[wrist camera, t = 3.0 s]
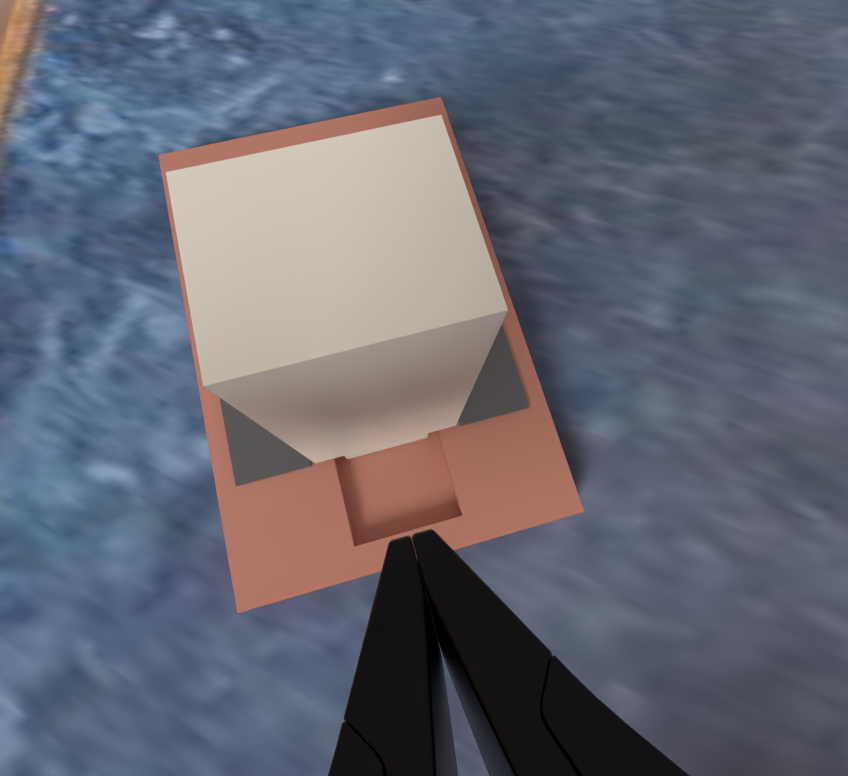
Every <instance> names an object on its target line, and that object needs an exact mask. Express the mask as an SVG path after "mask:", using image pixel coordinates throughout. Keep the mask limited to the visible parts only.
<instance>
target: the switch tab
mask: <svg viewBox="0 0 848 776" xmlns="http://www.w3.org/2000/svg"><path fill="white" fill-rule="evenodd" d="M166 177H167V182H168V188H169V194H170V199H171V205H172V211H173V217H174V222H175V228H176V234H177V239H178V245H179V251H180V257H181V262H182V268H183V274H184V279H185V285H186V291H187V297H188V302H189V308H190V314H191V319H192V325H193V331H194V337H195V342H196V348H197V354H198V359H199V365H200V371H201V377H202V382H203V386H204V387H205V388H207V389H208V390H209V391H211V392H212V393H214V394H215V395H217V396H218V397H220V398H221V399H223V400H224V401H225V402H227V403H228V404H230V405H231V406H233V407H234V408H236V409H237V410H238V411H240V412H241V413H243V414H244V415H246V416H247V417H249V418H250V419H252V420H253V421H254V422H256V423H257V424H259V425H260V426H262V427H263V428H265V429H266V430H267V431H269V432H270V433H272V434H273V435H275V436H276V437H278V438H279V439H281V440H282V441H283V442H285V443H286V444H288V445H289V446H291V447H292V448H294V449H295V450H296V451H298V452H299V453H301V454H302V455H304V456H305V457H307V458H308V459H310V460H311V461H312V462H314V463H319V462H323V461H326V460H330V459H334V458H337V457H341V456H345V457H346V459H351V458H355V457H358V456H362V455H366V454H369V453H373V452H377V451H381V450H384V449H388V448H392V447H395V446H399V445H403V444H406V443H410V442H414V441H418V440H421V439H425V438H427V437H428V433H430V432H434V431H438V430H442V429H445V428H449V427H453V426H456V424H457V422H458V419H459V417H460V415H461V413H462V411H463V408H464V406H465V404H466V402H467V400H468V397H469V395H470V393H471V391H472V389H473V386H474V384H475V382H476V380H477V378H478V375H479V373H480V371H481V369H482V367H483V364H484V362H485V360H486V358H487V356H488V353H489V351H490V349H491V347H492V345H493V342H494V340H495V338H496V336H497V334H498V331H499V329H500V327H501V325H502V323H503V320H504V318H505V316H506V314H507V312H508V308H507V305H506V302H505V300H504V297H503V294H502V291H501V288H500V285H499V282H498V279H497V276H496V273H495V270H494V267H493V264H492V261H491V259H490V256H489V253H488V250H487V247H486V244H485V241H484V238H483V235H482V232H481V229H480V226H479V223H478V220H477V218H476V215H475V212H474V209H473V206H472V203H471V200H470V197H469V194H468V191H467V188H466V185H465V182H464V179H463V177H462V174H461V171H460V168H459V165H458V162H457V159H456V156H455V153H454V150H453V147H452V144H451V141H450V139H449V136H448V133H447V130H446V127H445V124H444V121H443V118H442V115H437V116H433V117H428V118H423V119H418V120H413V121H409V122H404V123H399V124H394V125H389V126H385V127H380V128H375V129H370V130H366V131H361V132H356V133H351V134H346V135H342V136H337V137H332V138H327V139H322V140H318V141H313V142H308V143H303V144H299V145H294V146H289V147H284V148H279V149H275V150H270V151H265V152H260V153H255V154H251V155H246V156H241V157H236V158H232V159H227V160H222V161H217V162H212V163H208V164H203V165H198V166H193V167H188V168H184V169H179V170H174V171H169V172H166Z"/></svg>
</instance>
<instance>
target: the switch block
mask: <svg viewBox="0 0 848 776" xmlns="http://www.w3.org/2000/svg"><path fill="white" fill-rule="evenodd" d="M437 115H442V118H443V121H444V124H445V127H446V130H447V133H448V136H449V139H450V141H451V144H452V147H453V150H454V153H455V156H456V159H457V162H458V165H459V168H460V171H461V174H462V177H463V179H464V182H465V185H466V188H467V191H468V194H469V197H470V200H471V203H472V206H473V209H474V212H475V215H476V218H477V220H478V223H479V226H480V229H481V232H482V235H483V238H484V241H485V244H486V247H487V250H488V253H489V256H490V259H491V261H492V264H493V267H494V270H495V273H496V276H497V279H498V282H499V285H500V288H501V291H502V294H503V297H504V300H505V302H506V305H507V308H508V312H507V314H506V316H505V318H504V320H503V323H502V325H501V327H500V329H499V331H498V334H497V336H496V338H495V340H494V342H493V345H492V347H491V349H490V351H489V353H488V356H487V358H486V360H485V362H484V364H483V367H482V369H481V371H480V373H479V375H478V378H477V380H476V382H475V384H474V386H473V389H472V391H471V393H470V395H469V397H468V400H467V402H466V404H465V406H464V408H463V411H462V413H461V415H460V417H459V419H458V422H457V424H456V426H453V427H449V428H445V429H442V430H438V431H434V432H430V433H428V437H427V438H425V439H421V440H418V441H414V442H410V443H406V444H403V445H399V446H395V447H392V448H388V449H384V450H381V451H377V452H373V453H369V454H366V455H362V456H358V457H355V458H351V459H346V457H345V456H341V457H337V458H334V459H330V460H326V461H323V462H319V463H314V462H312V461H311V460H310V459H308V458H307V457H305V456H304V455H302V454H301V453H299V452H298V451H296V450H295V449H294V448H292V447H291V446H289V445H288V444H286V443H285V442H283V441H282V440H281V439H279V438H278V437H276V436H275V435H273V434H272V433H270V432H269V431H267V430H266V429H265V428H263V427H262V426H260V425H259V424H257V423H256V422H254V421H253V420H252V419H250V418H249V417H247V416H246V415H244V414H243V413H241V412H240V411H238V410H237V409H236V408H234V407H233V406H231V405H230V404H228V403H227V402H225V401H224V400H223V399H221V398H220V397H218V396H217V395H215V394H214V393H212V392H211V391H209V390H208V389H207V388H205V387H204V386H203V382H202V377H201V371H200V365H199V359H198V354H197V348H196V342H195V337H194V331H193V325H192V319H191V314H190V308H189V302H188V297H187V291H186V285H185V279H184V274H183V268H182V262H181V257H180V251H179V245H178V239H177V234H176V228H175V222H174V217H173V211H172V205H171V199H170V194H169V188H168V182H167V177H166V172H169V171H174V170H179V169H184V168H188V167H193V166H198V165H203V164H208V163H212V162H217V161H222V160H227V159H232V158H236V157H241V156H246V155H251V154H255V153H260V152H265V151H270V150H275V149H279V148H284V147H289V146H294V145H299V144H303V143H308V142H313V141H318V140H322V139H327V138H332V137H337V136H342V135H346V134H351V133H356V132H361V131H366V130H370V129H375V128H380V127H385V126H389V125H394V124H399V123H404V122H409V121H413V120H418V119H423V118H428V117H433V116H437ZM159 161H160V166H161V172H162V178H163V184H164V190H165V195H166V201H167V207H168V213H169V218H170V224H171V230H172V236H173V242H174V247H175V253H176V259H177V265H178V271H179V276H180V282H181V288H182V294H183V300H184V305H185V311H186V317H187V323H188V329H189V334H190V340H191V346H192V352H193V357H194V363H195V369H196V375H197V381H198V386H199V392H200V398H201V404H202V410H203V415H204V421H205V427H206V433H207V439H208V444H209V450H210V456H211V462H212V468H213V473H214V479H215V485H216V491H217V496H218V502H219V508H220V514H221V520H222V525H223V531H224V537H225V543H226V549H227V554H228V560H229V566H230V572H231V578H232V583H233V589H234V595H235V601H236V607H237V612H238V613H240V612H244V611H247V610H250V609H254V608H257V607H261V606H264V605H267V604H271V603H274V602H278V601H281V600H285V599H288V598H291V597H295V596H298V595H302V594H305V593H308V592H312V591H315V590H319V589H322V588H326V587H329V586H332V585H336V584H339V583H343V582H346V581H350V580H353V579H356V578H360V577H363V576H367V575H370V574H373V573H377V572H380V571H381V570H382V566H383V562H384V559H385V555H386V551H387V547H388V544H389V542H390V541H391V540H393V539H396V538H400V537H403V536H407V535H408V536H410V537H411V538H412V535H413V534H414V533H417V532H421V531H424V530H428V529H433V530H434V531H435V532H436V533H437V534H438V535H439V536H440V537H441V538H442V539H443V540H444V541H445V542H446V543H447V544H448V545H449V546H450V547H451V548H452V549H453V550H456V549H459V548H462V547H466V546H469V545H473V544H476V543H479V542H483V541H486V540H490V539H493V538H497V537H500V536H503V535H507V534H510V533H514V532H517V531H520V530H524V529H527V528H531V527H534V526H538V525H541V524H544V523H548V522H551V521H555V520H558V519H562V518H565V517H568V516H572V515H575V514H579V513H582V512H584V509H583V506H582V504H581V501H580V498H579V495H578V492H577V489H576V486H575V483H574V480H573V477H572V475H571V472H570V469H569V466H568V463H567V460H566V457H565V454H564V451H563V449H562V446H561V443H560V440H559V437H558V434H557V431H556V428H555V425H554V422H553V420H552V417H551V414H550V411H549V408H548V405H547V402H546V399H545V396H544V393H543V391H542V388H541V385H540V382H539V379H538V376H537V373H536V370H535V367H534V364H533V362H532V359H531V356H530V353H529V350H528V347H527V344H526V341H525V338H524V335H523V333H522V330H521V327H520V324H519V321H518V318H517V315H516V312H515V309H514V306H513V304H512V301H511V298H510V295H509V292H508V289H507V286H506V283H505V280H504V277H503V275H502V272H501V269H500V266H499V263H498V260H497V257H496V254H495V251H494V248H493V246H492V243H491V240H490V237H489V234H488V231H487V228H486V225H485V222H484V220H483V217H482V214H481V211H480V208H479V205H478V202H477V199H476V196H475V193H474V191H473V188H472V185H471V182H470V179H469V176H468V173H467V170H466V167H465V164H464V162H463V159H462V156H461V153H460V150H459V147H458V144H457V141H456V138H455V135H454V133H453V130H452V127H451V124H450V121H449V118H448V115H447V112H446V109H445V106H444V104H443V101H442V98H441V97H438V98H433V99H428V100H423V101H418V102H414V103H409V104H404V105H399V106H394V107H389V108H384V109H379V110H375V111H370V112H365V113H360V114H355V115H350V116H345V117H341V118H336V119H331V120H326V121H321V122H316V123H311V124H306V125H302V126H297V127H292V128H287V129H282V130H277V131H272V132H268V133H263V134H258V135H253V136H248V137H243V138H238V139H234V140H229V141H224V142H219V143H214V144H209V145H204V146H199V147H195V148H190V149H185V150H180V151H175V152H170V153H165V154H161V155H159ZM412 542H413V540H412ZM413 545H414V544H413ZM414 549H415V548H414ZM415 553H416V552H415ZM416 557H417V556H416ZM417 561H418V560H417Z"/></svg>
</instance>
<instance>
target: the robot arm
mask: <svg viewBox="0 0 848 776" xmlns="http://www.w3.org/2000/svg"><path fill="white" fill-rule="evenodd" d="M412 540H413V542H412ZM413 544H414V545H413ZM414 548H415V549H414ZM415 552H416V553H415ZM416 556H417V557H416ZM417 560H418V561H417ZM418 564H419V565H418ZM419 567H420V569H419ZM420 571H421V572H420ZM421 575H422V576H421ZM422 579H423V580H422ZM423 583H424V584H423ZM424 587H425V588H424ZM425 591H426V592H425ZM426 595H427V596H426ZM427 598H428V600H427ZM428 602H429V603H428ZM429 606H430V607H429ZM430 610H431V611H430ZM431 614H432V615H431ZM432 618H433V619H432ZM433 622H434V623H433ZM434 625H435V627H434ZM435 629H436V630H435ZM436 633H437V634H436ZM437 637H438V638H437ZM438 641H439V642H438ZM439 644H440V647H439ZM440 648H441V651H442V654H443V657H444V660H445V663H446V665H447V668H448V671H449V673H450V676H451V678H452V681H453V683H454V686H455V689H456V691H457V694H458V696H459V699H460V701H461V704H462V707H463V709H464V712H465V714H466V717H467V719H468V722H469V724H470V727H471V730H472V732H473V735H474V737H475V740H476V742H477V745H478V748H479V750H480V753H481V755H482V758H483V760H484V763H485V765H486V768H487V771H488V773H489V776H689V775H688V774H687V773H686V772H684V771H683V770H682V769H681V768H679V767H678V766H677V765H676V764H675V763H673V762H672V761H671V760H670V759H669V758H667V757H666V756H665V755H664V754H663V753H661V752H660V751H659V750H658V749H657V748H655V747H654V746H653V745H652V744H651V743H649V742H648V741H647V740H646V739H645V738H643V737H642V736H641V735H640V734H639V733H637V732H636V731H635V730H634V729H632V728H631V727H630V726H629V725H628V724H626V723H625V722H624V721H623V720H622V719H621V718H620V717H618V716H617V715H616V714H615V713H614V712H613V711H612V710H610V709H609V708H608V707H607V706H606V705H605V704H604V703H602V702H601V701H600V700H599V699H598V698H597V697H596V696H595V695H594V694H593V693H592V692H591V691H590V690H589V689H588V688H586V687H585V686H584V685H583V684H582V683H581V682H580V681H579V680H578V679H577V678H576V677H575V676H574V675H573V674H572V673H571V672H570V671H569V670H568V669H567V668H566V667H565V666H564V665H563V663H562V662H561V661H560V660H559V659H558V658H557V657H556V656H552V653H551V651H550V650H549V649H548V648H547V647H546V646H545V645H544V644H543V643H542V642H541V641H540V640H539V639H538V638H537V637H536V636H535V635H534V634H533V633H532V632H531V630H530V629H529V628H528V627H527V626H526V625H525V624H524V623H523V622H522V621H521V620H520V619H519V618H518V617H517V616H516V615H515V614H514V613H513V612H512V611H511V610H510V609H509V608H508V607H507V605H506V604H505V603H504V602H503V601H502V600H501V599H500V598H499V597H498V596H497V595H496V594H495V593H494V592H493V591H492V590H491V589H490V588H489V587H488V586H487V585H486V584H485V583H484V582H483V580H482V579H481V578H480V577H479V576H478V575H477V574H476V573H475V572H474V571H473V570H472V569H471V568H470V567H469V566H468V565H467V564H466V563H465V562H464V561H463V560H462V559H461V558H460V557H459V556H458V554H457V553H456V552H455V551H454V550H453V549H452V548H451V547H450V546H449V545H448V544H447V543H446V542H445V541H444V540H443V539H442V538H441V537H440V536H439V535H438V534H437V533H436V532H435V531H434V530H433V529H428V530H424V531H421V532H417V533H414V534H413V535H412V538H411V537H410V536H408V535H407V536H403V537H400V538H396V539H393V540H391V541H390V542H389V544H388V547H387V551H386V555H385V559H384V562H383V566H382V570H381V574H380V578H379V582H378V586H377V590H376V594H375V598H374V602H373V606H372V609H371V613H370V617H369V621H368V625H367V629H366V633H365V637H364V641H363V645H362V649H361V653H360V656H359V660H358V664H357V668H356V672H355V676H354V680H353V684H352V688H351V692H350V696H349V700H348V703H347V707H346V711H345V715H344V720H345V722H343V723H342V726H341V730H340V734H339V738H338V742H337V746H336V749H335V753H334V756H333V760H332V763H331V767H330V770H329V774H328V776H458V771H457V763H456V756H455V749H454V741H453V734H452V727H451V719H450V712H449V705H448V698H447V690H446V683H445V676H444V668H443V662H442V656H441V651H440Z"/></svg>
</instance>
